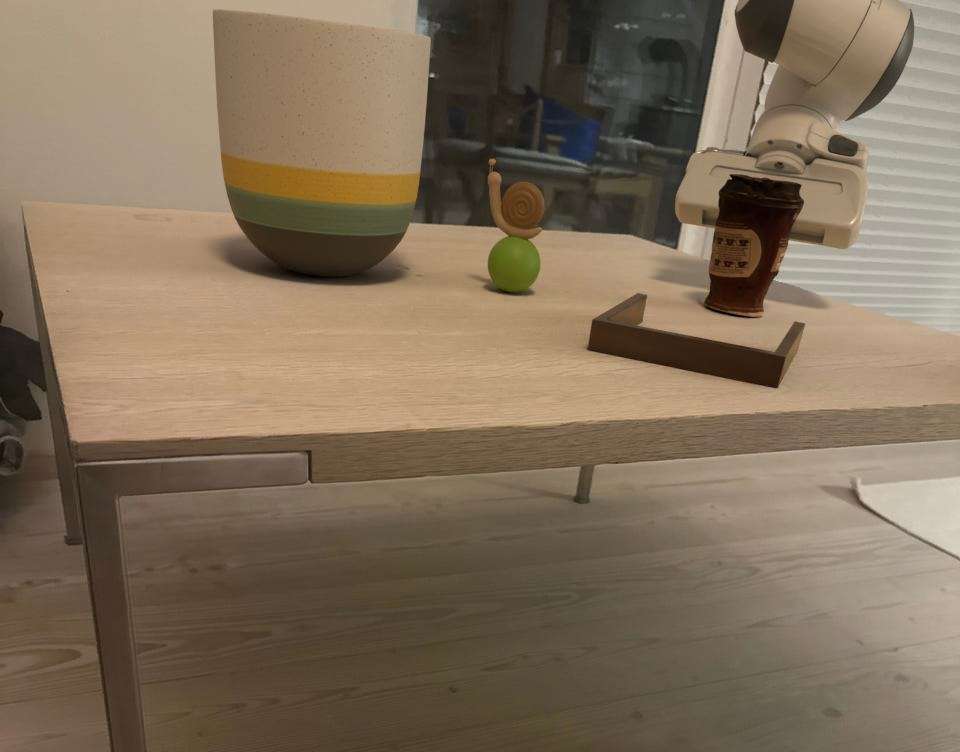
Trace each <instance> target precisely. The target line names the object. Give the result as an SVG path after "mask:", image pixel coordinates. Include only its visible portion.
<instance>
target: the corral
mask: <svg viewBox="0 0 960 752" xmlns="http://www.w3.org/2000/svg"><path fill="white" fill-rule="evenodd" d="M647 300H648V294H646V293H640V292H637V293H635V294H634V295H631V296H630V297H628V298H626V299H625V300H623V301H622V302H620V303H618V304H617V305H615V306H613V307H612V308H610V309H608V310H606V311H605V312H602V313H601V314H600V315H599V314H598V316H595V317H594V318H592V320H591V325H590V331H589V337H588V343H587V350H588V351H593V352H598V353H602V354H607V355H611V356H617V357H623V358H626V359H632V360H637V361H642V362H647V363H652V364H656V365H662V366H666V367H672V368H677V369H682V370H687V371H692V372H697V373H700V374H705V375H706V374H707V375H711V376H716V377H722V378H725V379H730V380H731V379H732V380H737V381H740V382H745V383H751V384H757V385H761V386H766V387H770V388H775V389H778V388H779V386H780V384H781V383H782V380H783V379H784V377H785V375H786V373H787V371H788V370H789V368H790V366H791V364H792V362H793V360H794V358H795V356H796V355H797V353H798V351H799V348H800V345H801V340H802V337H803V333H804V330H805V327H806V323H805V322H800V321H794V322H793V323H792V325H791V326H790V328H789V330H788V331H787V333H786V334H785V335H784V336H783V339H782V340H781V341H780V343H779V345H778V346H777V348H776V350H775V351H771V350H766V349H761V348H756V347H752V346H751V347H750V346H746V345H740V344H735V343H731V342H730V343H729V342H724V341H720V340H715V339H709V338H705V337H704V338H703V337H699V336H693V335H688V334H683V333H677V332H673V331H669V330H668V331H667V330H663V329H658V328H657V329H656V328H651V327H646V326H642V325H640V323H642V322H643V320H644V315H645V310H646V305H647Z"/></svg>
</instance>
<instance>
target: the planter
mask: <svg viewBox="0 0 960 752" xmlns="http://www.w3.org/2000/svg"><path fill="white" fill-rule="evenodd" d="M212 29H213V30H212V31H213V52H214V53H213V54H214V72H215V73H214V75H215V76H214V77H215V90H216V91H215V92H216V108H217V123H218V136H219V148H220V160H221V169H222V170H221V171H222V176H223V183H224V186H225V187H224V188H225V191H226V192H225V193H226V195H227V199H228V203H229V206H230V209H231V212H232V214H233V217H234V220H235V221H236V223H237V225H238V226H239V228H240V230H241V231H242V233H243V234H244V236H245V237H246V238H247V239H248V240H249V241H250V243H251V244H252V245H253V246H254V247H255V248H256V249H257V250H258V251H259V253H261V254H262V255H263V256H264V257H266V258H267V259H269V261H271V262H273V263H275V264H276V265H277V266H280V267H281V268H284V269H286V270H289V271H292V272H294V273H297V274H298V273H299V274H302V275H308V276H316V277H330V278H331V277H332V278H334V277H335V278H336V277H337V278H338V277H348V276H354V275H357V274H360V273H361V274H362V273H364V272H366V271H368V270H371V269H372V268H374V267H375V266H377V265H378V264H380V263H381V262H383V261H384V260H385V259H386V258H387V257H388V256H390V255H391V253H392V252H393V251H394V250H395V249H396V248H397V247H398V246H399V244H400V243H401V241H402V240H403V239H404V237H405V235H406V234H407V231H408V228H409V226H410V223H411V220H412V218H413V215H414V210H415V207H416V202H417V198H418V193H419V185H420V177H421V169H422V160H423V150H424V149H423V148H424V140H425V127H426V116H427V102H428V88H429V72H430V59H431V44H432V43H431V42H432V41H431V40H432V38H431V36H428V35H425V34H419V33H415V32H409V31H402V30H395V29H389V28H384V27H375V26H370V25H363V24H362V25H361V24H354V23H348V22H340V21H332V20H325V19H324V20H323V19H316V18H310V17H309V18H308V17H301V16H300V17H299V16H291V15H284V14H283V15H282V14H274V13H265V12H257V11H256V12H255V11H247V10H234V9H221V8H220V9H219V8H216V9H213V10H212Z"/></svg>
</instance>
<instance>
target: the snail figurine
mask: <svg viewBox="0 0 960 752" xmlns="http://www.w3.org/2000/svg"><path fill="white" fill-rule="evenodd" d="M496 164H497V159H496V158H489V160H488V165H489V169H491V171H489V174H488V176H487V184H488V189H489V204H490V205H489V206H490V211H491V216H492V219H493V222H494V223H495V224H494V225H496V227H497V228H498V229H499V230H500V231H502V233H504V234H505V235H507V236H505V237H503V238H501V239H500V240H498V241H497V242H496V243H495V244H494V245H493V246H492V248H491V250H490V252H489V254H488V256H487V257H488V259H487V272H488V275H489V277H490V279H491V281H492V282H493V284H494V285H495V286H496V287H497V288H499V289H501V290H502V291H504V292H508V293H520V292H524V291H525V290H527V289H529V288H530V287H531V286H532V285H533V284H534V283H535V282H536V280H537V279H538V276H539V274H540V271H541V256H540V254H539V250H538V248H537V247H536V246H535V244H534V243H533V242H532V241H531V240H533V239H534V238H536V237H537V236H539V235H540V234H541V233H542V231H543V228H542V227H540V226H536V225H537V224H538V223H539V222H541V220H542V218H543V217H544V214H545V210H546V202H545V201H546V200H545V198H544V195H543V193H542V191H541V190H540V188H539V187H538V186H536V185H535V184H534V183H531V182H528V181H519V182H516V183H513V184H512V185H511V186H509V187H508V188H507V189H506V191H505V192H504V194H503V196H502V197H501V185H502V175H501V174H500V173H498V172H497V171H493V168H494V166H495V165H496Z"/></svg>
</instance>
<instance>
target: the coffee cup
mask: <svg viewBox="0 0 960 752" xmlns="http://www.w3.org/2000/svg"><path fill="white" fill-rule="evenodd" d="M729 176H730V177H731V178H732V179H728V180H727V182H726V184H725V185H724V186H723V187H722V188H721V189H720V190H719V201H718V207H719V215H718V218H717V220H716V223H715V228H714V229H713V230H714V231H713V235H712V243H711V253H710V259H709V264H708V275H709V279H710V280H709V281H710V283H709V291H708V294H707V296H706V297H705V299H704V305H705V306H706V307H707V308H710V309H713V310H717V311H720V312H724V313H729V314H734V315H738V316H745V317H751V318H752V317H753V318H755V317H758V318H759V317H763V316H764V314H765V308H764V301H765V298H766V296H767V294H768V291H769V288H770V286H771V285H772V282H773V281H774V279H775V278H776V277H777V276H778V275H779V273H780V267H781V265H782V262H783V259H784V257H785V255H786V252H787V250H788V246H789V241H790V240H789V236H790V232H791V229H792V226H793V224H794V222H795V220H796V218H797V217H798V215H799V213H800V212H801V210H802V208H803V205H804V200H803V199H802V198H801V197H800V188H801V186H802V185H801V184H798V183H794V182H789V181H778V180H771V179H769V178H757V177H750V176H747V175H742V174H730V175H729Z"/></svg>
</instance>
